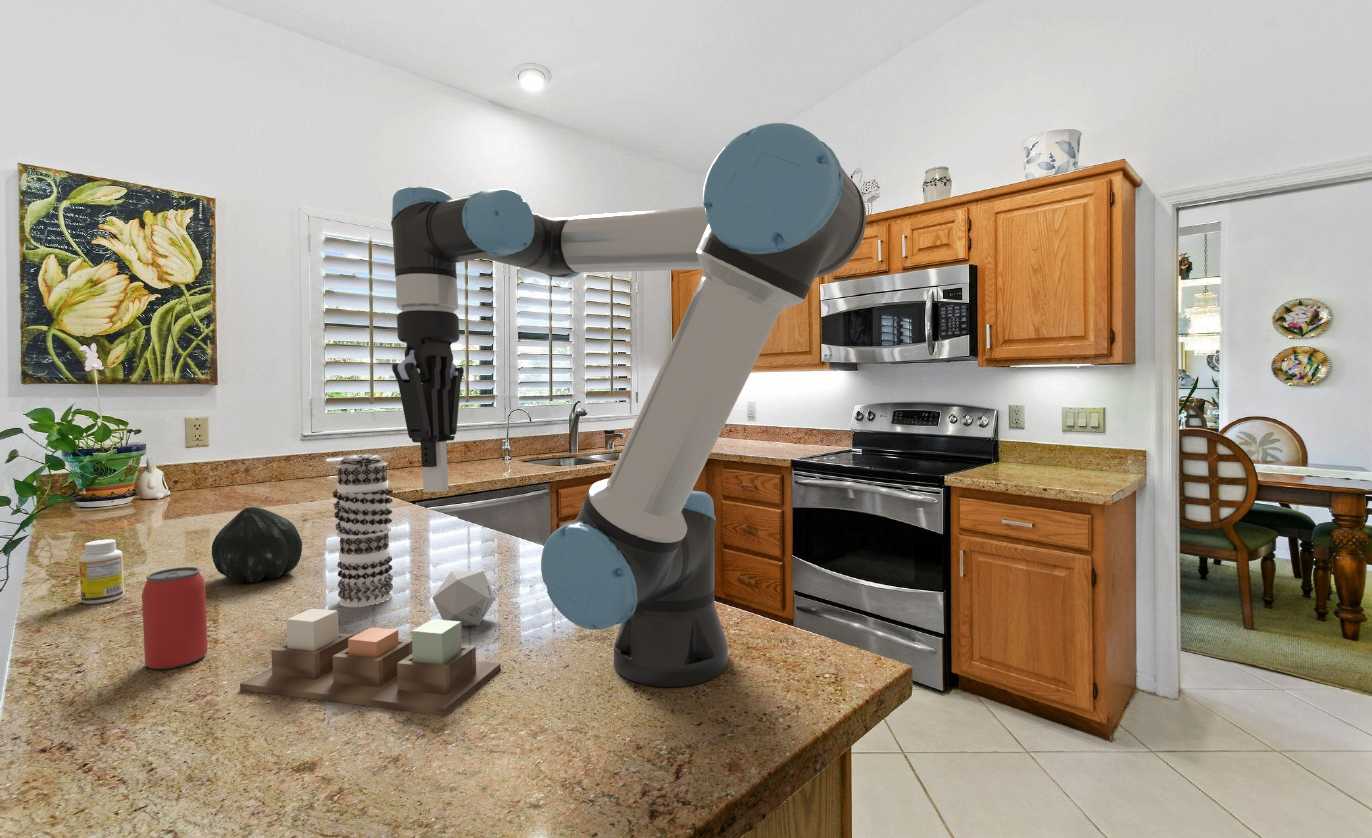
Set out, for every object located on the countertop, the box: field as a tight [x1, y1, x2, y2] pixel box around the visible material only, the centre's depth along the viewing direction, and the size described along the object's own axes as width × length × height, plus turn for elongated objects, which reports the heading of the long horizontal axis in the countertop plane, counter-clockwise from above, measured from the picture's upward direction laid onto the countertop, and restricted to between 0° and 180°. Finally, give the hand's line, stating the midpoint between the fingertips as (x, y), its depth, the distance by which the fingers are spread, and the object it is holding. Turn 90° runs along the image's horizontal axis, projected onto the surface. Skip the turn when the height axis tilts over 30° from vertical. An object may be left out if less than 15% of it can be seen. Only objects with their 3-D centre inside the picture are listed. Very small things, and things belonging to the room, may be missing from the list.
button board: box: [239, 632, 502, 717], centre depth 79 cm, size 28×12×4 cm, turn 77°
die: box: [432, 570, 496, 627], centre depth 98 cm, size 8×9×10 cm
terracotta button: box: [348, 626, 400, 658], centre depth 79 cm, size 4×4×4 cm
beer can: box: [141, 566, 208, 670], centre depth 85 cm, size 7×7×12 cm
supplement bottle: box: [78, 538, 125, 605], centre depth 110 cm, size 6×6×10 cm
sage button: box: [411, 618, 463, 665], centre depth 77 cm, size 4×4×4 cm
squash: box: [211, 506, 303, 584], centre depth 123 cm, size 14×15×15 cm
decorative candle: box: [332, 454, 394, 609], centre depth 109 cm, size 9×9×25 cm
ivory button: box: [286, 608, 339, 651], centre depth 81 cm, size 4×4×4 cm
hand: (436, 490), depth 84 cm, fingers closed
